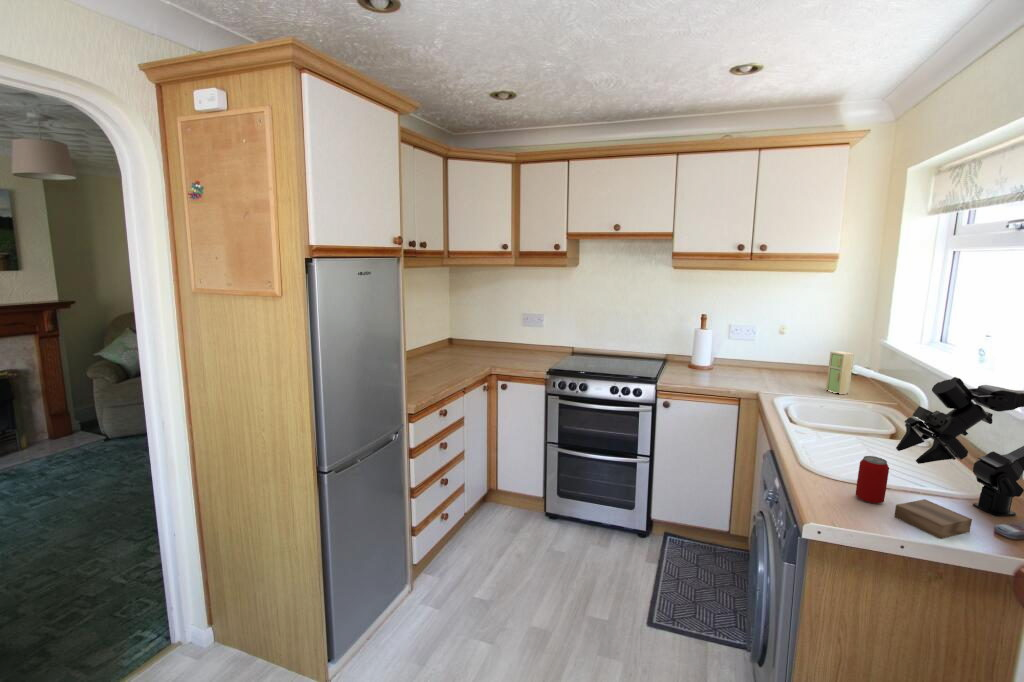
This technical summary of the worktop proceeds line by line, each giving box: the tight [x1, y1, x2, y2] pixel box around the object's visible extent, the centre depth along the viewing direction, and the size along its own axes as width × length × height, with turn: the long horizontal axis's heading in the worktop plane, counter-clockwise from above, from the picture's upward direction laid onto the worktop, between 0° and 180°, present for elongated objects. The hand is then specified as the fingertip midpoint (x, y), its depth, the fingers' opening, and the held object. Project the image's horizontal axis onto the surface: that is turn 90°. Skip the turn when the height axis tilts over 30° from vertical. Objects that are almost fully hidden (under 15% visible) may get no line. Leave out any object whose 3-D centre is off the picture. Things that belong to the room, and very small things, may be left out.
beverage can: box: [855, 455, 890, 505], centre depth 144 cm, size 7×7×12 cm
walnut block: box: [893, 498, 973, 540], centre depth 132 cm, size 11×11×4 cm
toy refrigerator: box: [825, 350, 855, 393], centre depth 261 cm, size 8×7×21 cm
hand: (906, 455), depth 142 cm, fingers open, 9 cm apart
